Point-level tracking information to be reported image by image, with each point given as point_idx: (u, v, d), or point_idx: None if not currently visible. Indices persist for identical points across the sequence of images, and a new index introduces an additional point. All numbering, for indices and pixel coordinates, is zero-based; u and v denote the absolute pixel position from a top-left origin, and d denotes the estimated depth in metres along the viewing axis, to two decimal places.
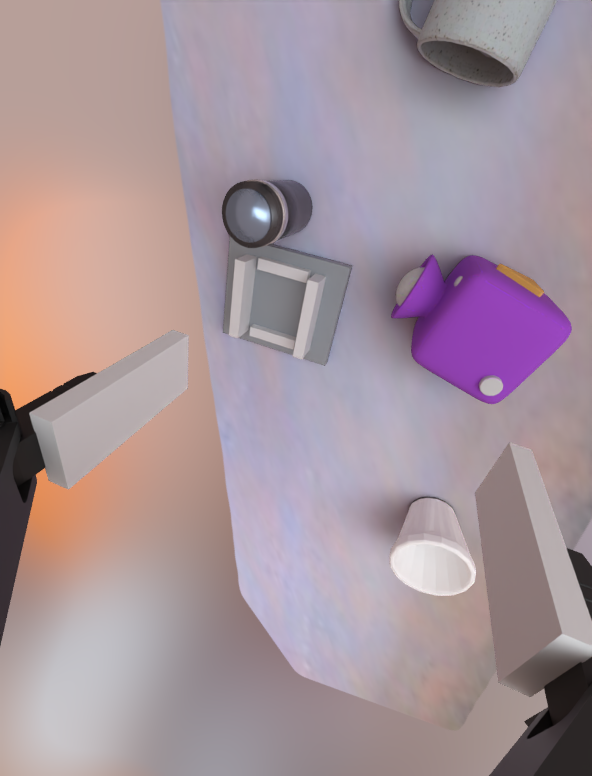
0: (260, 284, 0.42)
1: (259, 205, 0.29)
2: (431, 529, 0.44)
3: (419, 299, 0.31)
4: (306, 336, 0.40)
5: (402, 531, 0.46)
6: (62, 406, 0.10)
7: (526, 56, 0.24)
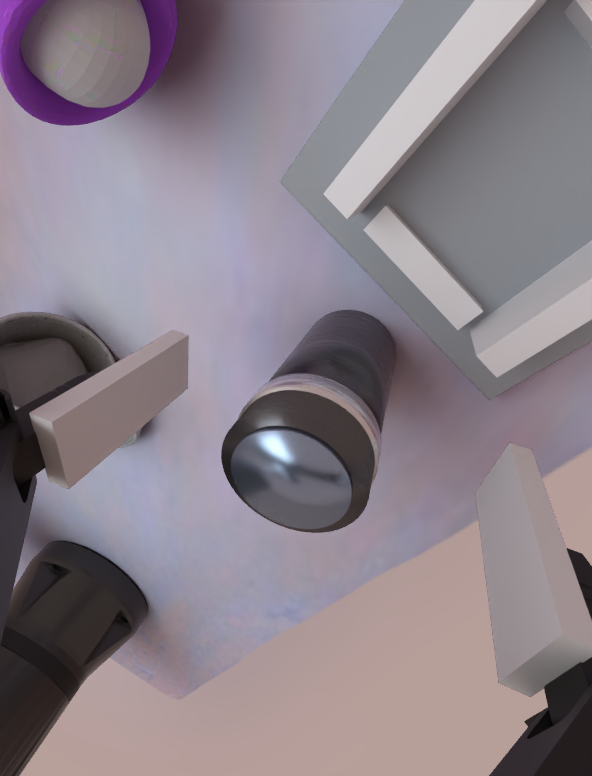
0: (520, 267, 0.14)
1: (249, 477, 0.12)
2: None
3: None
4: None
5: None
6: (62, 406, 0.10)
7: None
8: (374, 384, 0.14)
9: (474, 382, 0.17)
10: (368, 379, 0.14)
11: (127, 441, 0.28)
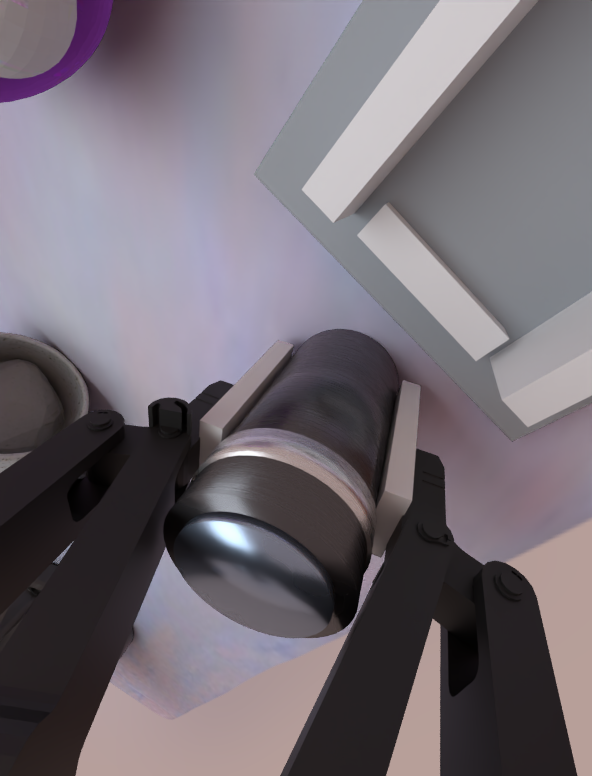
0: (558, 283, 0.11)
1: (198, 571, 0.09)
2: None
3: None
4: None
5: None
6: (223, 414, 0.11)
7: None
8: (369, 435, 0.11)
9: (494, 420, 0.14)
10: (361, 429, 0.11)
11: None
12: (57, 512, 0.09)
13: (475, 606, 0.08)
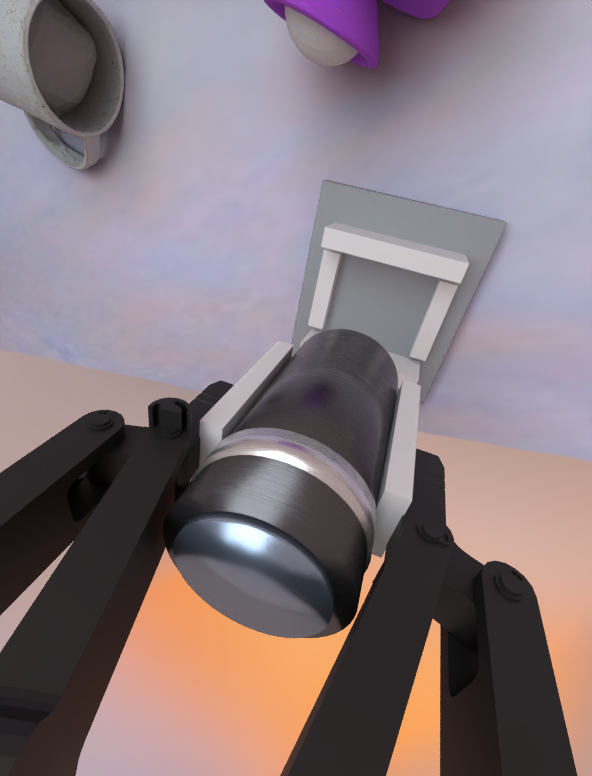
0: (348, 329, 0.29)
1: (198, 570, 0.09)
2: None
3: None
4: (419, 252, 0.22)
5: None
6: (223, 414, 0.11)
7: None
8: (369, 434, 0.11)
9: None
10: (361, 429, 0.11)
11: (66, 160, 0.30)
12: (57, 512, 0.09)
13: (475, 606, 0.08)
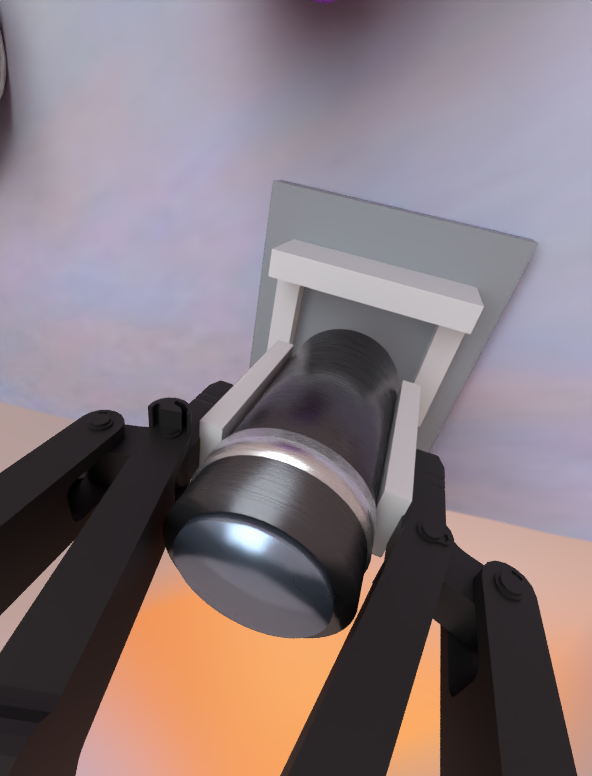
0: None
1: (198, 571, 0.09)
2: None
3: None
4: (409, 288, 0.15)
5: None
6: (223, 414, 0.11)
7: None
8: (370, 434, 0.11)
9: None
10: (361, 429, 0.11)
11: None
12: (57, 512, 0.09)
13: (475, 606, 0.08)
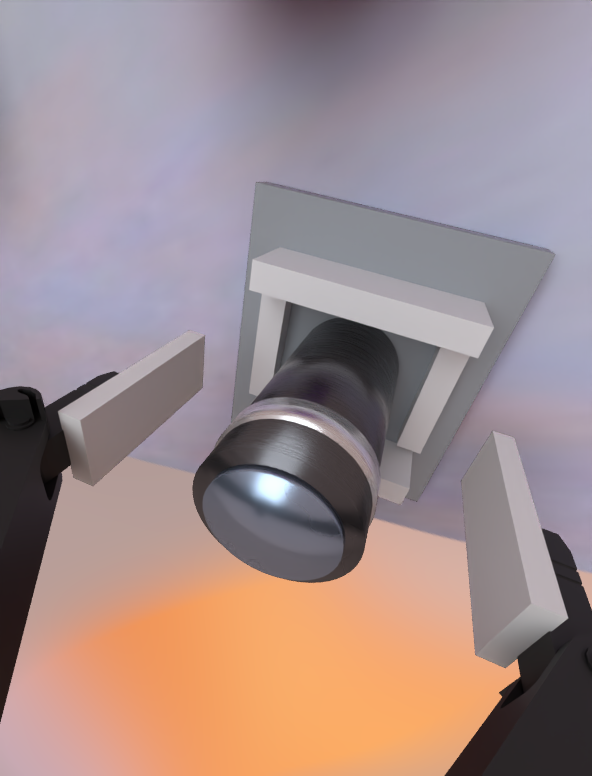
0: None
1: (224, 521, 0.10)
2: None
3: None
4: (408, 306, 0.13)
5: None
6: (89, 404, 0.10)
7: None
8: (374, 407, 0.12)
9: (232, 417, 0.22)
10: (366, 401, 0.12)
11: None
12: None
13: None
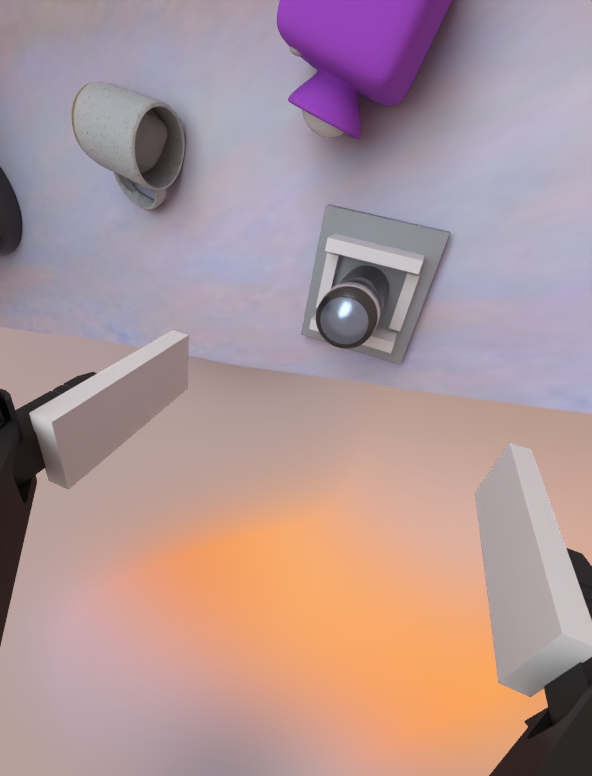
0: None
1: (327, 321, 0.30)
2: None
3: (319, 98, 0.26)
4: (390, 254, 0.33)
5: None
6: (62, 406, 0.10)
7: (144, 100, 0.32)
8: (377, 290, 0.32)
9: (303, 325, 0.42)
10: (375, 288, 0.32)
11: (139, 203, 0.42)
12: None
13: None
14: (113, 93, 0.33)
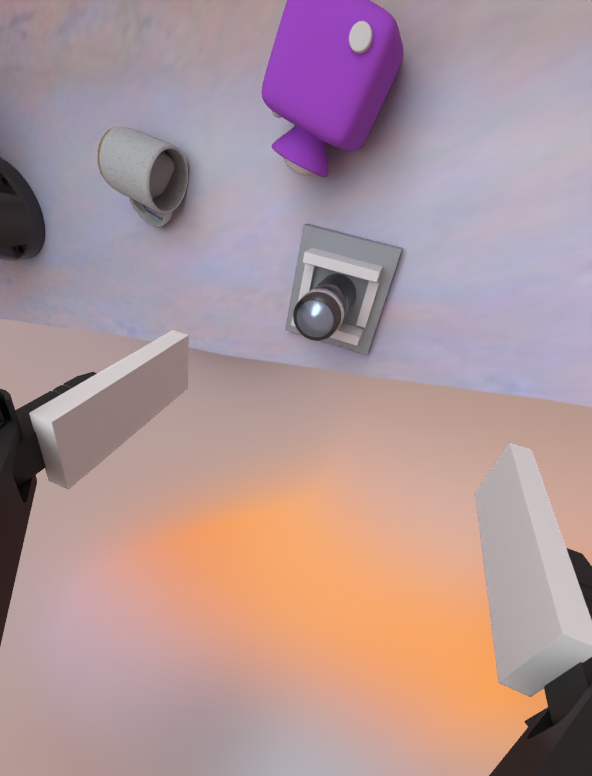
0: None
1: (302, 319, 0.38)
2: None
3: (294, 148, 0.35)
4: (354, 266, 0.41)
5: None
6: (62, 406, 0.10)
7: (157, 144, 0.41)
8: (343, 295, 0.40)
9: (287, 322, 0.51)
10: (340, 293, 0.40)
11: (149, 221, 0.50)
12: None
13: None
14: (132, 138, 0.41)
